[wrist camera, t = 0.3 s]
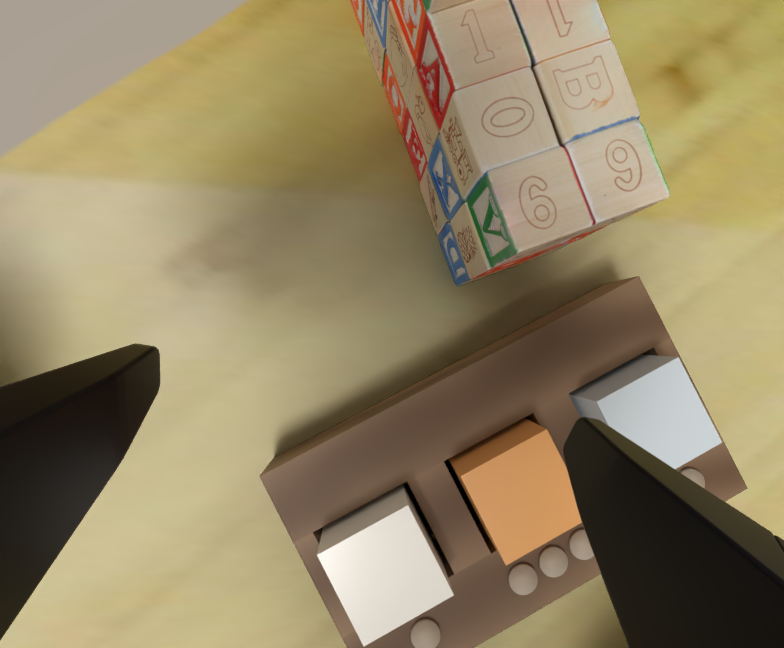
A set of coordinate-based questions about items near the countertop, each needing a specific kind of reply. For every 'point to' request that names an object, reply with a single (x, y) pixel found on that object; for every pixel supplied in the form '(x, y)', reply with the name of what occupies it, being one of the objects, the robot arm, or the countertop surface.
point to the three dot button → (518, 488)
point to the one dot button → (383, 564)
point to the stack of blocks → (512, 123)
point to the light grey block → (651, 408)
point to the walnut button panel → (460, 431)
